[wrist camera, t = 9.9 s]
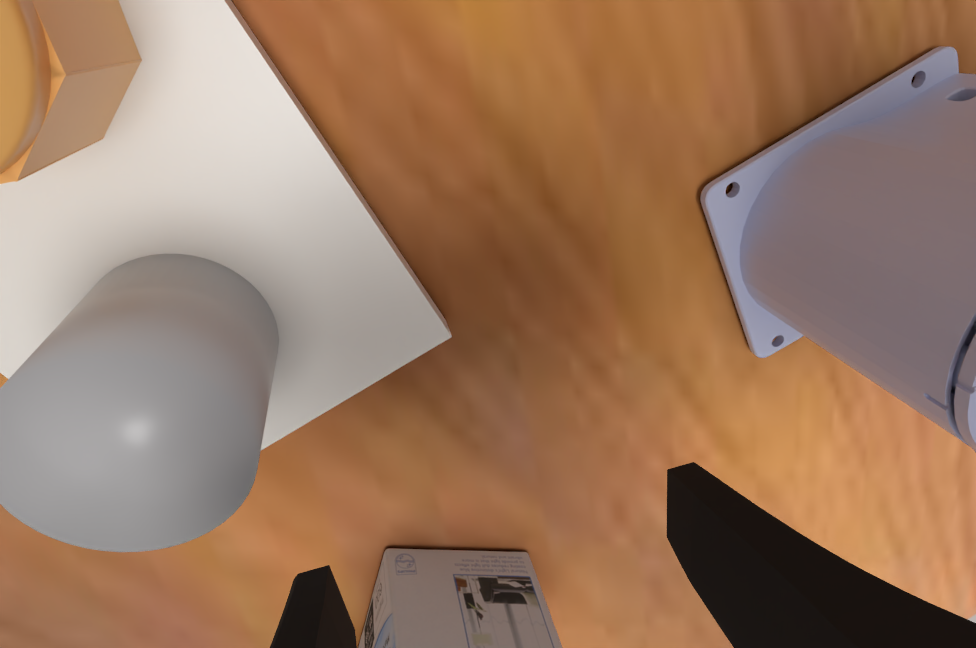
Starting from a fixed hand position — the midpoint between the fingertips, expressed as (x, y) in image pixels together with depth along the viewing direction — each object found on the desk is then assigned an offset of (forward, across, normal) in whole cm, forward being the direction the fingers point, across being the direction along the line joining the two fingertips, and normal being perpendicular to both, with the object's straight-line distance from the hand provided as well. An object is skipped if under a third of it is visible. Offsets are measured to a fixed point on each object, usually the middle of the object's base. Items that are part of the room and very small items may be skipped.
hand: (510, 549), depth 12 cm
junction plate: (+9, +8, -7) cm, 14 cm away
